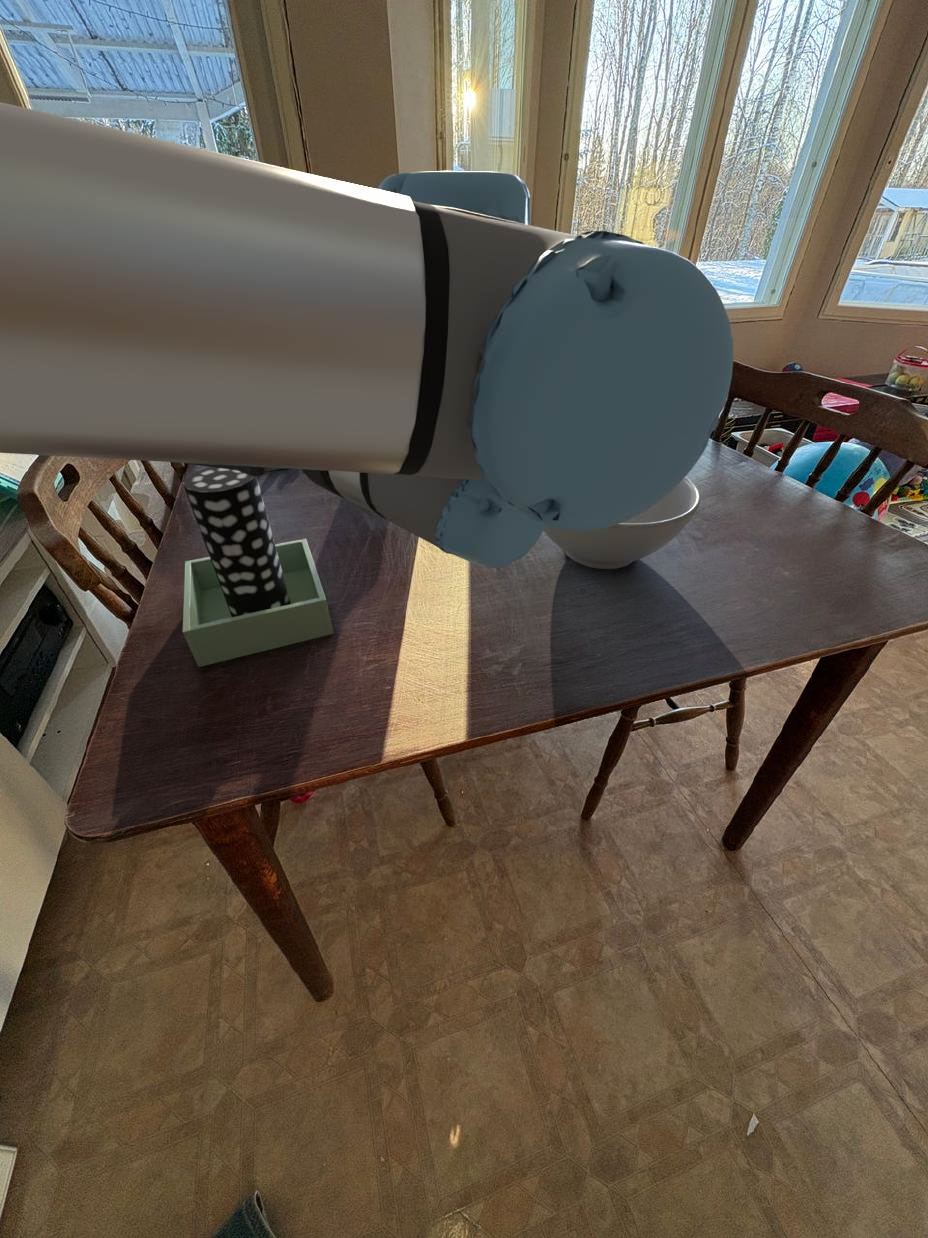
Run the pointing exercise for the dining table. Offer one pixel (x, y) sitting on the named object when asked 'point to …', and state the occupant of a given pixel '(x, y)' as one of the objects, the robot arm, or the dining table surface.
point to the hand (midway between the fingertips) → (231, 398)
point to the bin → (247, 634)
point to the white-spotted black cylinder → (237, 538)
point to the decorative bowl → (631, 532)
